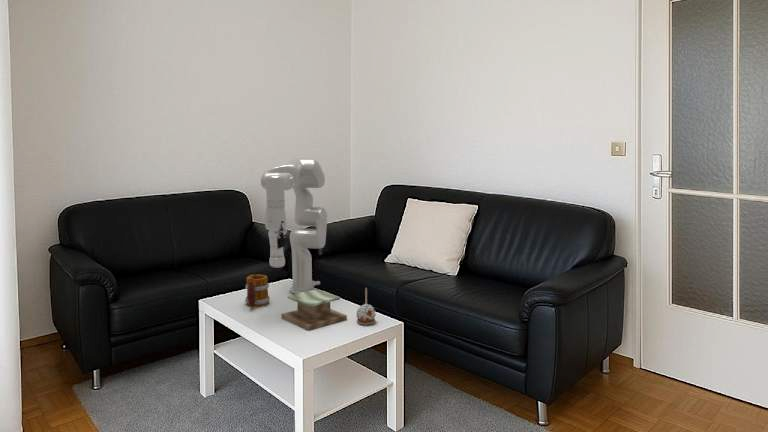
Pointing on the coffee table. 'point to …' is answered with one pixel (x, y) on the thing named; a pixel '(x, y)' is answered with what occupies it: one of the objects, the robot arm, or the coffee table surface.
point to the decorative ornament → (366, 313)
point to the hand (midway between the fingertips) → (276, 245)
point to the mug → (257, 291)
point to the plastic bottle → (275, 251)
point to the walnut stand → (313, 310)
